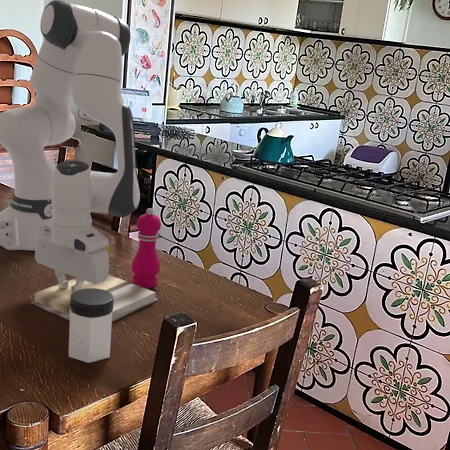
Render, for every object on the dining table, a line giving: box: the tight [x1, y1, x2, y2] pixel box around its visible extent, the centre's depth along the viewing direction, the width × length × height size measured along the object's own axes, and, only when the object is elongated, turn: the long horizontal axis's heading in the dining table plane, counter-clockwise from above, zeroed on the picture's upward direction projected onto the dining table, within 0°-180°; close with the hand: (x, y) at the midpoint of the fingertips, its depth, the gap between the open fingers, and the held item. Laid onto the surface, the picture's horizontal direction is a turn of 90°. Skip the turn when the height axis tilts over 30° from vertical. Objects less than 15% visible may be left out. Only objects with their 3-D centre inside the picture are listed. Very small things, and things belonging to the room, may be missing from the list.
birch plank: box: [34, 274, 128, 314], centre depth 147 cm, size 10×20×2 cm, turn 148°
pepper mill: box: [130, 207, 162, 289], centre depth 156 cm, size 7×7×20 cm
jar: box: [68, 288, 114, 364], centre depth 121 cm, size 9×8×12 cm
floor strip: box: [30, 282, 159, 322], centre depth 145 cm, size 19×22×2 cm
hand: (70, 290), depth 144 cm, fingers closed on birch plank, 3 cm apart
